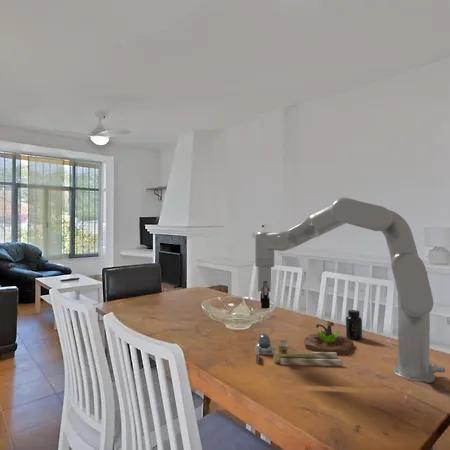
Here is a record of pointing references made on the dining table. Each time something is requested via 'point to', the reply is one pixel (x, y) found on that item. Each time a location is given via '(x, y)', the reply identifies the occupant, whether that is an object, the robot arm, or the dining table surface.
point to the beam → (330, 361)
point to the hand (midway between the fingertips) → (264, 305)
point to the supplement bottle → (353, 325)
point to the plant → (328, 341)
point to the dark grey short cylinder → (264, 340)
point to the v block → (264, 349)
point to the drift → (290, 355)
